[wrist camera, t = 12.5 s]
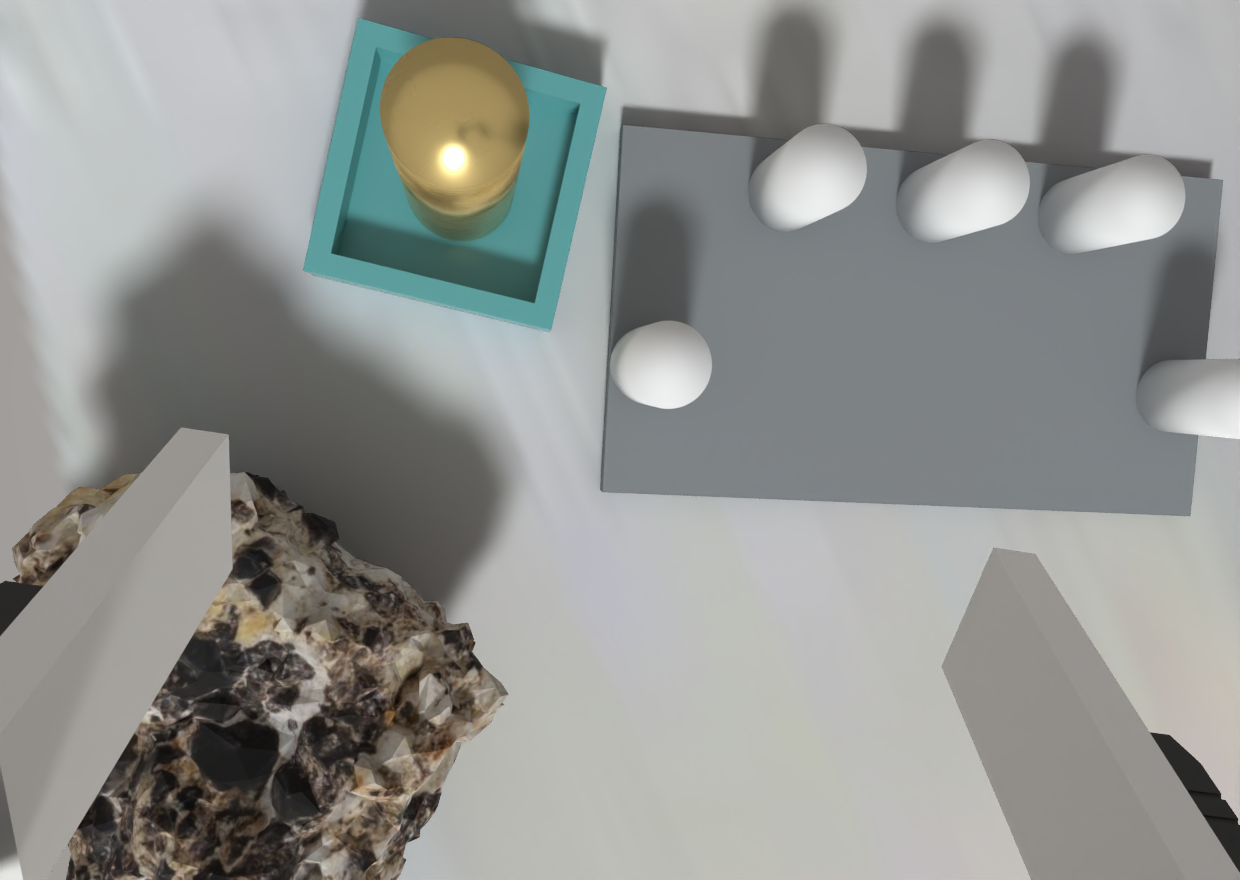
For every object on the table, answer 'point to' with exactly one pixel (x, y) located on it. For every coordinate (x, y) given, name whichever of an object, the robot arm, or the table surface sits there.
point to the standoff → (456, 134)
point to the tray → (408, 252)
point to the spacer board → (909, 325)
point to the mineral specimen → (280, 710)
